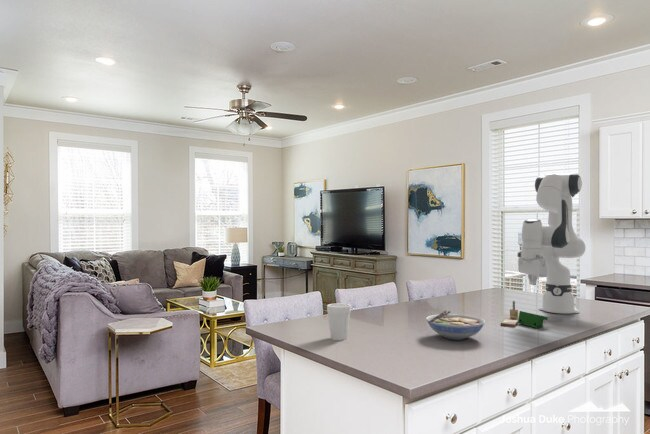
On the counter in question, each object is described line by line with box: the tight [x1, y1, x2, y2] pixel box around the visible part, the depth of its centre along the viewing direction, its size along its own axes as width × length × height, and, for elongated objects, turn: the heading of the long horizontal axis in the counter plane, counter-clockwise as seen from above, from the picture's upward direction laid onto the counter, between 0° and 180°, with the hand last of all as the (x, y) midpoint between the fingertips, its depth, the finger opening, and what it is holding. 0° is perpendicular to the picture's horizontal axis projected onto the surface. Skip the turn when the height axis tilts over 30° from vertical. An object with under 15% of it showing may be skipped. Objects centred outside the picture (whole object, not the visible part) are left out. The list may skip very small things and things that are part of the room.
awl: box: [509, 300, 519, 319], centre depth 218 cm, size 4×4×9 cm
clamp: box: [518, 310, 548, 329], centre depth 206 cm, size 12×6×9 cm, turn 15°
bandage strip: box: [500, 317, 520, 328], centre depth 210 cm, size 13×6×1 cm, turn 149°
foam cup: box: [326, 302, 352, 341], centre depth 183 cm, size 10×9×13 cm
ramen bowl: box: [425, 310, 486, 341], centre depth 184 cm, size 25×23×8 cm
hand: (532, 284), depth 211 cm, fingers closed
